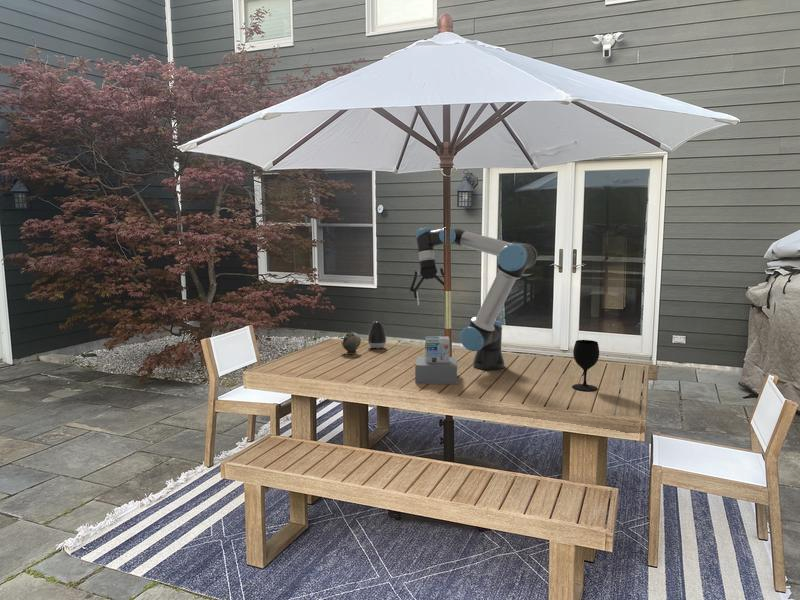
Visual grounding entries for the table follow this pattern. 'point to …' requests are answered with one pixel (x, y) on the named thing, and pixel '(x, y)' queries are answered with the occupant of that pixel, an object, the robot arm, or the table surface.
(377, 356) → the table surface
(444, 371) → the grey block
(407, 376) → the table surface
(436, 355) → the light bulb box
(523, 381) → the table surface
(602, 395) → the table surface
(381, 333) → the black tapered dome
